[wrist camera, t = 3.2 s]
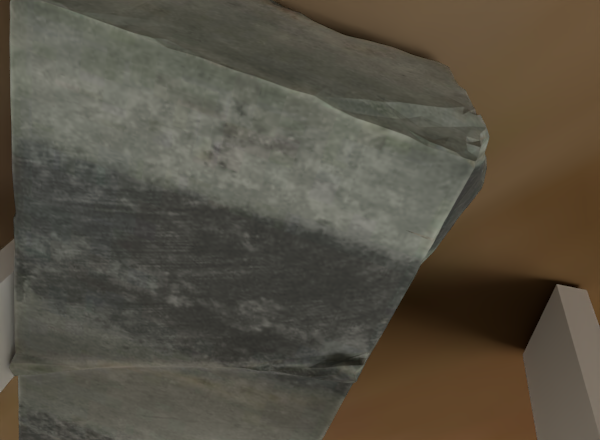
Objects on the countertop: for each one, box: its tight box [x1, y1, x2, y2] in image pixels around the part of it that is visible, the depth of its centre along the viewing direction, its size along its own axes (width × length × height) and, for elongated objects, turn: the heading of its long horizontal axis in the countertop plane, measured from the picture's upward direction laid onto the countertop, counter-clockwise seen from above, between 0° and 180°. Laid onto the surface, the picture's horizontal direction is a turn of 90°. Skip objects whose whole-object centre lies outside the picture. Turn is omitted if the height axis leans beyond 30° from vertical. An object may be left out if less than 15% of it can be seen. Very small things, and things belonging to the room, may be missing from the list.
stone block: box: [9, 0, 489, 440], centre depth 14 cm, size 9×14×5 cm, turn 164°
